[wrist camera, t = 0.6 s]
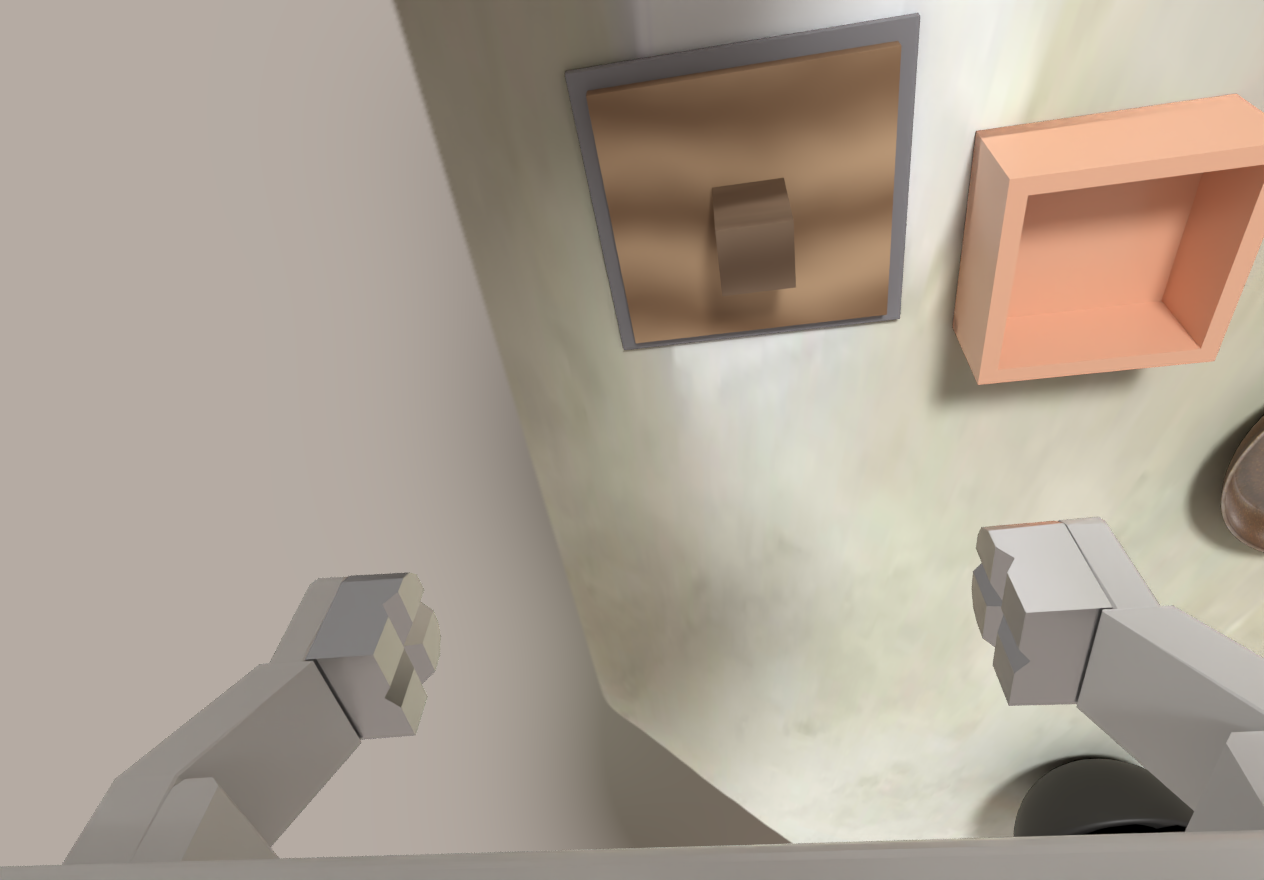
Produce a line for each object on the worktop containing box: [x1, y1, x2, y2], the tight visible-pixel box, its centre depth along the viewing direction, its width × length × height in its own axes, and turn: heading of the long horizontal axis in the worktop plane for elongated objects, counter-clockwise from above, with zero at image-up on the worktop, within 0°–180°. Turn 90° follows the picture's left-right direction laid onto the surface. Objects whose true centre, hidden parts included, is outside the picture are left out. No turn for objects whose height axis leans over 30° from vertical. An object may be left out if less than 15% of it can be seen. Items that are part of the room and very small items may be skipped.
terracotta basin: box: [952, 94, 1264, 385], centre depth 45 cm, size 13×13×6 cm
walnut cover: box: [586, 41, 901, 343], centre depth 45 cm, size 16×16×6 cm
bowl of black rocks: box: [1014, 759, 1194, 837], centre depth 85 cm, size 20×20×19 cm
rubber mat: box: [565, 13, 920, 350], centre depth 47 cm, size 18×18×1 cm
